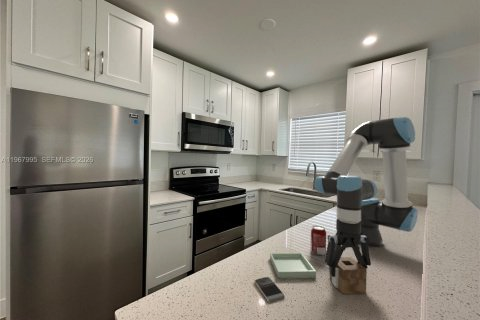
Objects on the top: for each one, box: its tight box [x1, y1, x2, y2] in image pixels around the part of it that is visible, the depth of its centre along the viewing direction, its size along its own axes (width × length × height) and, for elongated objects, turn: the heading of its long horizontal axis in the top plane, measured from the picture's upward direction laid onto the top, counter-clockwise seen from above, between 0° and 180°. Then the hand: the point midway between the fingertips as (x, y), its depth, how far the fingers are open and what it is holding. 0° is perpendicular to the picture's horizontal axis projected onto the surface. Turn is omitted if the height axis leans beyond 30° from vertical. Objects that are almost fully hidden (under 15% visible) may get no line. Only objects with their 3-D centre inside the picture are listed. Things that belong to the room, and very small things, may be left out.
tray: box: [269, 252, 317, 280], centre depth 79 cm, size 14×14×2 cm
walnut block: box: [329, 256, 368, 295], centre depth 68 cm, size 8×8×8 cm
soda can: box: [310, 225, 327, 256], centre depth 92 cm, size 7×7×12 cm
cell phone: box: [253, 276, 285, 304], centre depth 65 cm, size 6×11×1 cm, turn 21°
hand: (347, 284), depth 68 cm, fingers closed on walnut block, 8 cm apart
